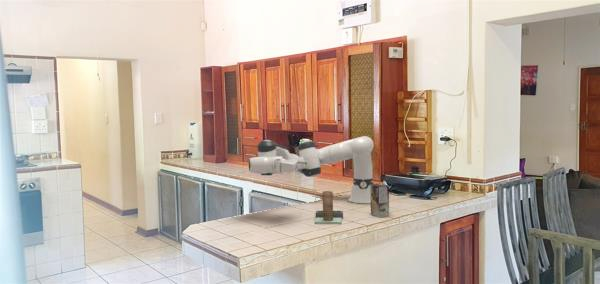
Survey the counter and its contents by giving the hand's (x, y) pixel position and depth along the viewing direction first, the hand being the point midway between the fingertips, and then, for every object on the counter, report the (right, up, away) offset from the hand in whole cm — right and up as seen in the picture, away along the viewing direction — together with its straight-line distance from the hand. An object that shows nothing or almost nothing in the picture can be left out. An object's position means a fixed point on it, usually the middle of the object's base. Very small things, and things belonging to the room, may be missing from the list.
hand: (306, 164), depth 234 cm
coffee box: (+39, -27, +7) cm, 48 cm away
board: (+11, -28, -4) cm, 31 cm away
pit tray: (+12, -28, +5) cm, 30 cm away
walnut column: (+11, -27, -4) cm, 30 cm away
